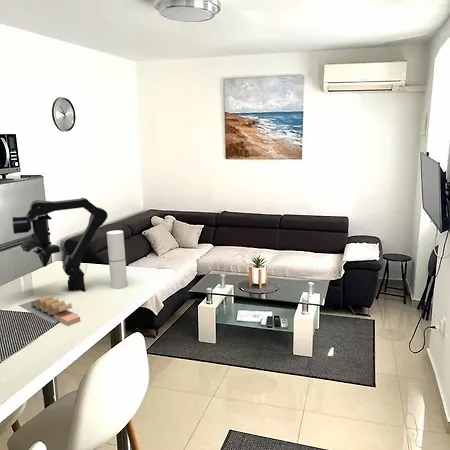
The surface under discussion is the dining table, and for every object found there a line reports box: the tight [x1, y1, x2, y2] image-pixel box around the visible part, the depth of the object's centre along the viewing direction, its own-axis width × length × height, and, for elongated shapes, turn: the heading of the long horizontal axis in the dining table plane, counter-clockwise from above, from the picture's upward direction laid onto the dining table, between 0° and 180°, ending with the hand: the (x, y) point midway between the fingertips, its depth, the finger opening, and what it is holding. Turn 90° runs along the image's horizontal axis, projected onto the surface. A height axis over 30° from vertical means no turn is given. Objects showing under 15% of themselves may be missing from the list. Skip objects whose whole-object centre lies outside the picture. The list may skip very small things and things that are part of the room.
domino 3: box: [41, 300, 66, 313], centre depth 166 cm, size 2×5×10 cm
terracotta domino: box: [54, 309, 81, 327], centre depth 161 cm, size 2×5×10 cm
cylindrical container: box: [106, 229, 128, 290], centre depth 195 cm, size 7×7×25 cm
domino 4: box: [47, 303, 73, 316], centre depth 164 cm, size 2×5×10 cm
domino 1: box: [30, 294, 54, 307], centre depth 172 cm, size 2×5×10 cm
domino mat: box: [18, 297, 78, 324], centre depth 171 cm, size 28×10×1 cm, turn 49°
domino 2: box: [36, 297, 60, 310], centre depth 169 cm, size 2×5×10 cm
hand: (44, 266), depth 186 cm, fingers closed
